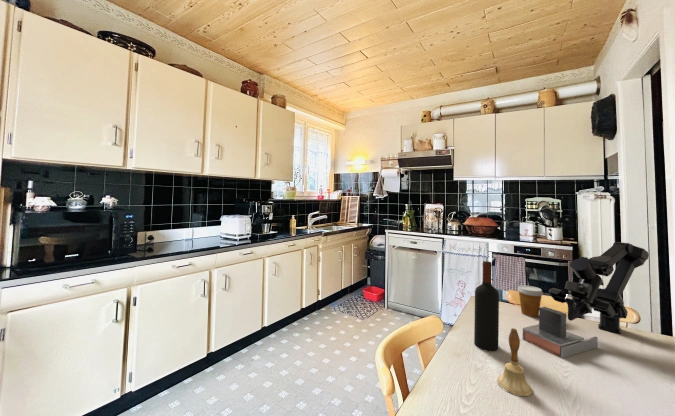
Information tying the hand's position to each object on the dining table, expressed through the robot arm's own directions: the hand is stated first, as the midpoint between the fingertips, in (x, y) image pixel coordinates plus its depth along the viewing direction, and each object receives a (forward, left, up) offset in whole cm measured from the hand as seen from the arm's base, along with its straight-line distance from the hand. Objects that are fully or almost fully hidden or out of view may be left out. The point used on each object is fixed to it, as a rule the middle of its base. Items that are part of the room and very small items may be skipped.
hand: (569, 319), depth 100 cm
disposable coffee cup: (-19, -15, -8) cm, 25 cm away
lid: (+9, -4, -4) cm, 11 cm away
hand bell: (+44, -9, -8) cm, 46 cm away
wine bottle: (+26, -21, -8) cm, 35 cm away
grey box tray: (+5, -2, -8) cm, 10 cm away
